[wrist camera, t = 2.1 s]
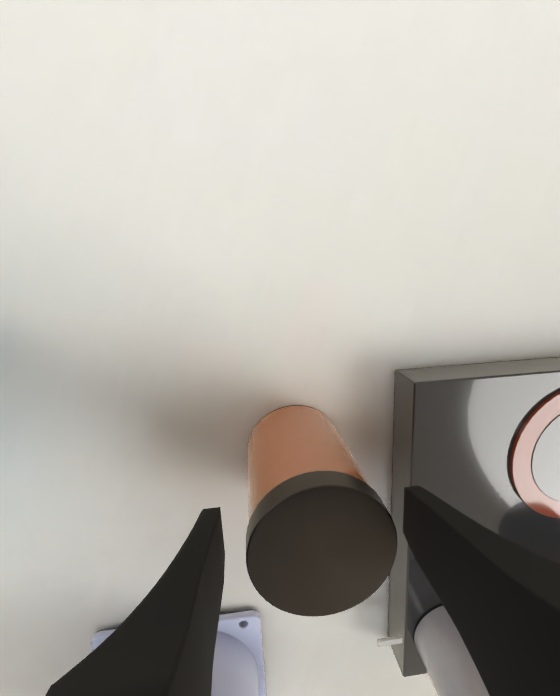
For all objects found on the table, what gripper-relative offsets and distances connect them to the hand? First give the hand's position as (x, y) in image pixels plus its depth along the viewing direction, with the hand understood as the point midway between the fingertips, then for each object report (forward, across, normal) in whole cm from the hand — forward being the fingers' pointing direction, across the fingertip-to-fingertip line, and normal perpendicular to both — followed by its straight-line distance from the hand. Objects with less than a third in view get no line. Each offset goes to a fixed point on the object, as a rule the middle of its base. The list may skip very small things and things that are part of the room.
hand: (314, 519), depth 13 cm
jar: (+6, 0, 0) cm, 6 cm away
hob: (+6, -12, +5) cm, 14 cm away
